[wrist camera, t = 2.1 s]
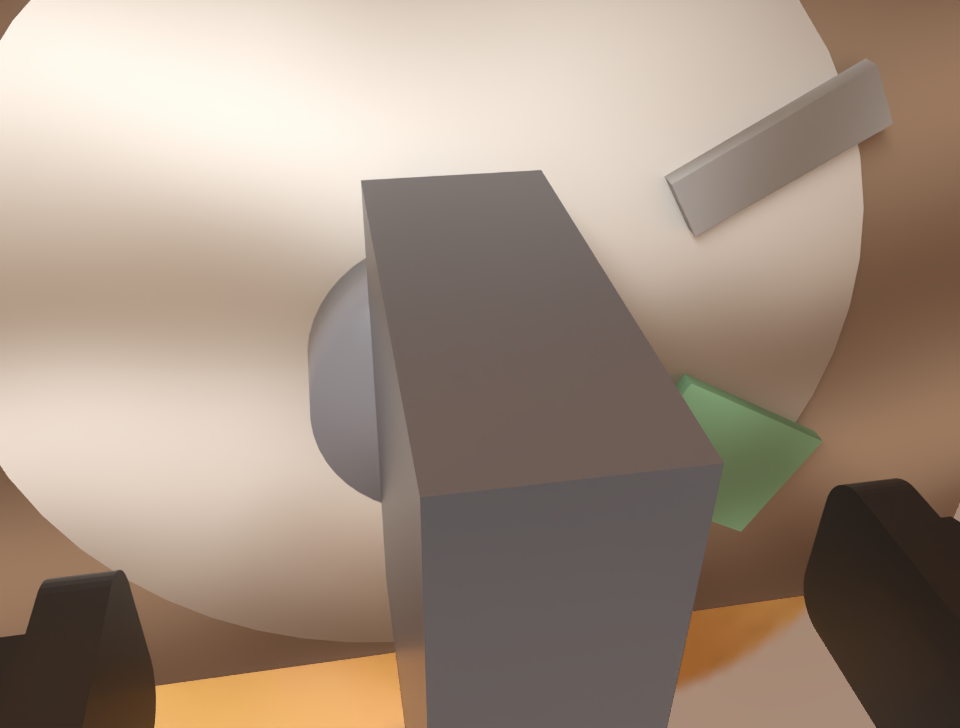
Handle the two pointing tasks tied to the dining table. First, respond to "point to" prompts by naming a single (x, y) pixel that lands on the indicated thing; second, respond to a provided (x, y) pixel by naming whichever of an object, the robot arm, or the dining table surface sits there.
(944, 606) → the robot arm
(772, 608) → the dining table surface
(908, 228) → the tuner box
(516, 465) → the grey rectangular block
